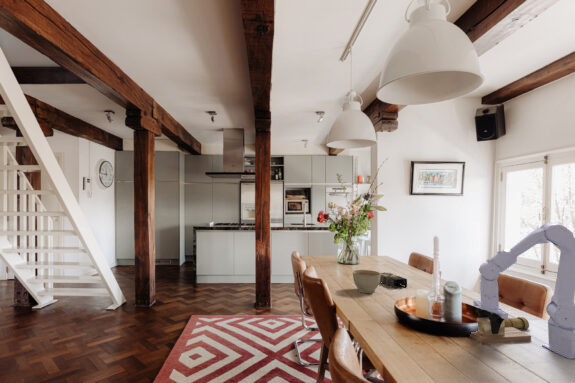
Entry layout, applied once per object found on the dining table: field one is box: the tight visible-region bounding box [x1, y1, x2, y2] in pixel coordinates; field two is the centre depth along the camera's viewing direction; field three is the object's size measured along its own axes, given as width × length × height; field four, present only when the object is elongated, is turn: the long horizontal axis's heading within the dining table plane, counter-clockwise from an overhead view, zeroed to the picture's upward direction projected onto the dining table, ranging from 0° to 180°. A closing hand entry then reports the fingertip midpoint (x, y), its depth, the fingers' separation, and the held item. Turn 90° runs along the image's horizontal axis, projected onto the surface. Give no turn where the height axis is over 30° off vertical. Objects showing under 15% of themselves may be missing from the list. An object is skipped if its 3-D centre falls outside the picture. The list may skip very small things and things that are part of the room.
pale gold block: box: [476, 317, 505, 336], centre depth 116 cm, size 4×8×5 cm, turn 97°
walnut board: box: [469, 327, 532, 345], centre depth 116 cm, size 8×20×2 cm, turn 97°
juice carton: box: [379, 272, 408, 290], centre depth 194 cm, size 20×10×6 cm, turn 15°
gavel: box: [491, 313, 530, 330], centre depth 133 cm, size 21×5×10 cm
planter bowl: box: [352, 269, 382, 294], centre depth 178 cm, size 16×16×11 cm
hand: (490, 331), depth 116 cm, fingers closed on pale gold block, 4 cm apart
